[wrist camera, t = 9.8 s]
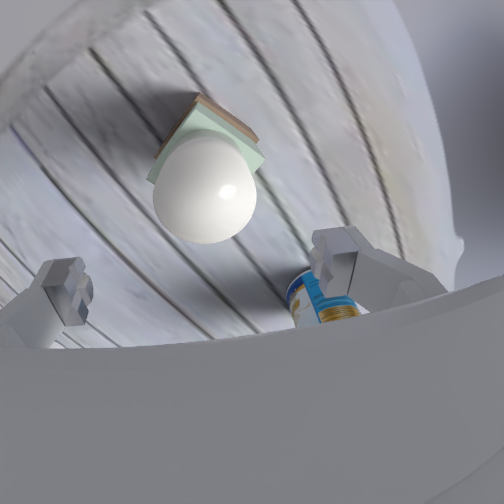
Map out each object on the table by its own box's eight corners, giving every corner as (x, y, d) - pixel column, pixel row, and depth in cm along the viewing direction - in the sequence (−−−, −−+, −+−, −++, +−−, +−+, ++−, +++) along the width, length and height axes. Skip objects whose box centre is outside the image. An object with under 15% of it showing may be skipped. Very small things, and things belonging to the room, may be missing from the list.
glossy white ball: (205, 216, 20) (205, 259, 16) (150, 169, 17) (132, 202, 13) (260, 168, 18) (277, 199, 14) (206, 112, 16) (205, 126, 12)
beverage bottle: (352, 288, 40) (414, 408, 24) (303, 319, 42) (345, 443, 26) (325, 252, 36) (398, 392, 20) (271, 289, 38) (312, 435, 22)
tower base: (212, 175, 28) (214, 195, 24) (162, 143, 26) (154, 157, 22) (250, 128, 26) (259, 139, 22) (199, 92, 24) (197, 96, 20)
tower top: (212, 192, 24) (214, 221, 20) (157, 157, 22) (146, 179, 18) (254, 141, 22) (265, 159, 18) (197, 101, 20) (195, 108, 16)
